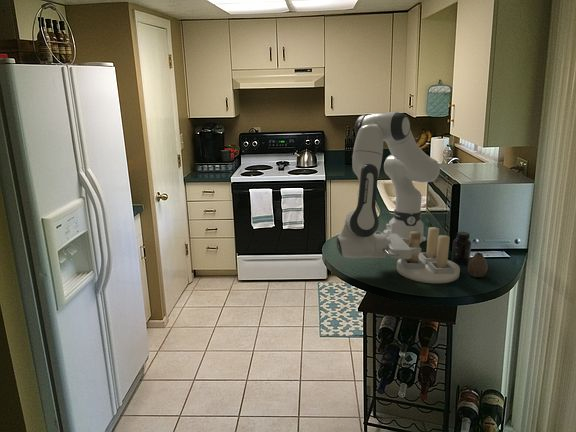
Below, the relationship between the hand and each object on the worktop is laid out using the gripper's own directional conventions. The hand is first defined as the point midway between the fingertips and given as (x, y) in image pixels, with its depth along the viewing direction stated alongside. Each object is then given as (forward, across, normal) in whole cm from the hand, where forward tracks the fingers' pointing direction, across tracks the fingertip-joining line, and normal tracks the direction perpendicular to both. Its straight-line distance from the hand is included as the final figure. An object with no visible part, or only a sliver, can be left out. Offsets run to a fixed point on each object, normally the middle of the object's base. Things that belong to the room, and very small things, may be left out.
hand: (416, 245), depth 182 cm
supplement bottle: (+22, +10, +11) cm, 27 cm away
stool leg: (-1, 0, +8) cm, 8 cm away
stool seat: (+5, 0, +10) cm, 12 cm away
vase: (+22, -5, +11) cm, 25 cm away
